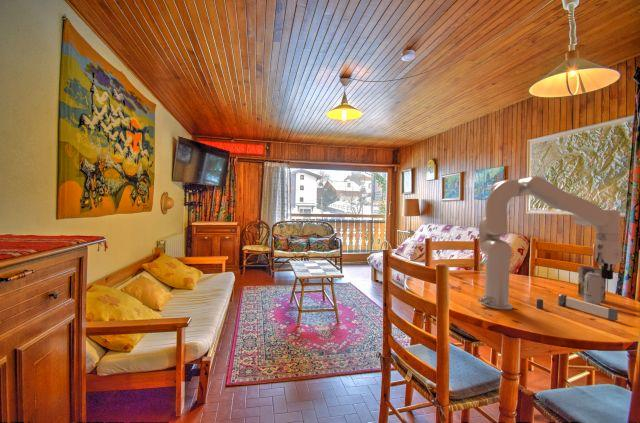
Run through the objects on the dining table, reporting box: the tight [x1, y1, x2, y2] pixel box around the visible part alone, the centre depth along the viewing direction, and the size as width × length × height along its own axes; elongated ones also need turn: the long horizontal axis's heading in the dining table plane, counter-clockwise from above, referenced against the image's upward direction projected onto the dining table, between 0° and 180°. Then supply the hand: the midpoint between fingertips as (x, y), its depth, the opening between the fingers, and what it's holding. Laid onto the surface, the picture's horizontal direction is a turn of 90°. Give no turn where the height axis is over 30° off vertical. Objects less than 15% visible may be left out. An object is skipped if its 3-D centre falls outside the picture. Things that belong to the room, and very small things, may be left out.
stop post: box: [536, 298, 544, 310], centre depth 132 cm, size 2×2×4 cm
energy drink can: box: [583, 272, 602, 306], centre depth 140 cm, size 6×6×15 cm
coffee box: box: [577, 266, 607, 302], centre depth 148 cm, size 9×6×16 cm
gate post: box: [557, 293, 567, 307], centre depth 136 cm, size 3×3×5 cm
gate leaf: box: [566, 297, 619, 321], centre depth 126 cm, size 2×18×4 cm, turn 17°
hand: (607, 278), depth 126 cm, fingers closed
